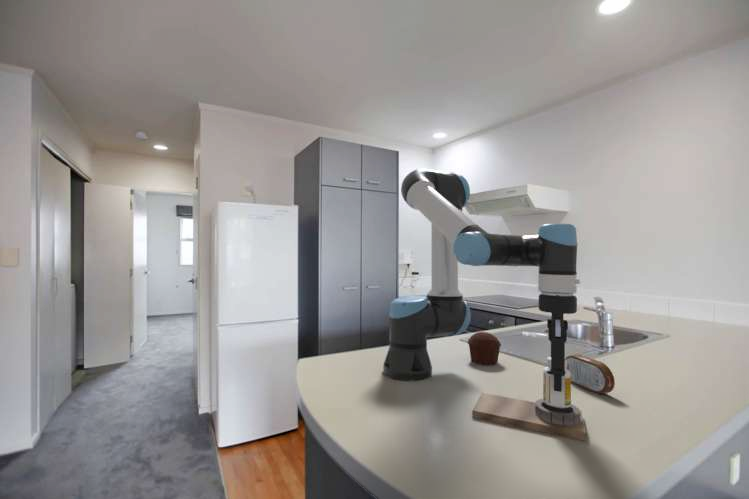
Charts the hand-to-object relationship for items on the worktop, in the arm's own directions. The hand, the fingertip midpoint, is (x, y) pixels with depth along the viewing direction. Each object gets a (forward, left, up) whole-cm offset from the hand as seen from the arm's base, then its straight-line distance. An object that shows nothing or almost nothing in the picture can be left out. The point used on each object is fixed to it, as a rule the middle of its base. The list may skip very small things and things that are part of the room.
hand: (557, 400), depth 77 cm
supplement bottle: (0, 0, -1) cm, 1 cm away
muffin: (-22, +41, -5) cm, 47 cm away
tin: (+8, +29, -5) cm, 31 cm away
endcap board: (-6, 0, -5) cm, 8 cm away
